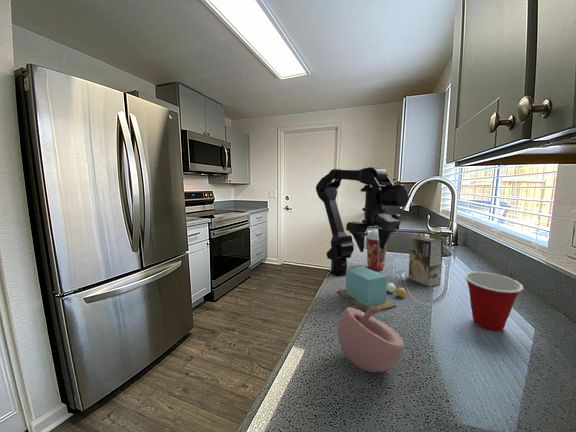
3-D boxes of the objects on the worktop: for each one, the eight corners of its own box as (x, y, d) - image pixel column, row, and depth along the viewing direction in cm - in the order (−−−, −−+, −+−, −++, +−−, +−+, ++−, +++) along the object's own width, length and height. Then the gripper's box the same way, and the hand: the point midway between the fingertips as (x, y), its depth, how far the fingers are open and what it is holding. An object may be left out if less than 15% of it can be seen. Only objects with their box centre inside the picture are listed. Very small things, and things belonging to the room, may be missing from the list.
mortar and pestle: (417, 382, 41) (421, 321, 40) (355, 395, 38) (357, 329, 37) (377, 340, 53) (379, 291, 51) (327, 347, 50) (328, 296, 49)
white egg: (383, 291, 78) (384, 282, 78) (390, 289, 80) (390, 281, 79) (390, 294, 76) (391, 285, 75) (397, 293, 77) (398, 284, 77)
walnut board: (337, 292, 77) (337, 290, 77) (360, 287, 81) (360, 285, 81) (369, 314, 64) (369, 312, 64) (396, 306, 68) (396, 305, 68)
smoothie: (389, 271, 97) (391, 224, 95) (369, 271, 97) (371, 224, 95) (381, 265, 105) (383, 221, 103) (362, 265, 105) (364, 221, 103)
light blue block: (345, 293, 76) (346, 269, 75) (362, 289, 78) (363, 266, 78) (367, 307, 66) (368, 280, 66) (385, 302, 69) (387, 276, 68)
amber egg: (393, 295, 75) (393, 286, 74) (400, 294, 76) (400, 285, 76) (401, 299, 72) (401, 290, 72) (408, 298, 73) (408, 288, 73)
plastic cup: (465, 330, 56) (469, 282, 55) (457, 310, 66) (461, 269, 65) (526, 344, 51) (532, 291, 50) (508, 320, 61) (513, 275, 60)
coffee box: (441, 284, 84) (445, 240, 82) (428, 287, 82) (431, 242, 80) (419, 275, 92) (422, 236, 91) (407, 277, 90) (409, 237, 89)
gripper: (369, 207, 68) (367, 260, 69) (414, 206, 75) (411, 253, 77) (345, 205, 78) (344, 251, 79) (387, 204, 85) (385, 246, 87)
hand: (372, 250), depth 80 cm, fingers open, 9 cm apart
